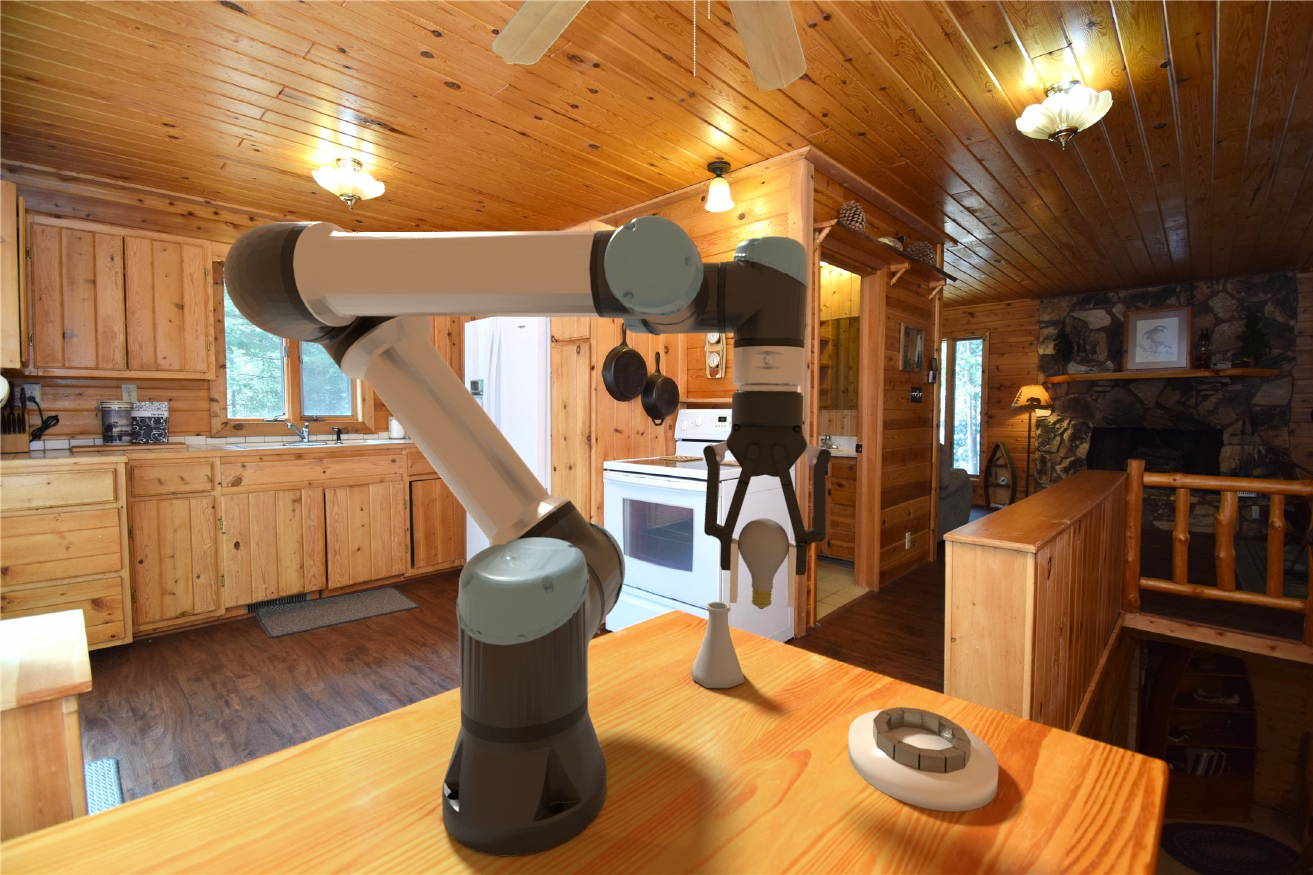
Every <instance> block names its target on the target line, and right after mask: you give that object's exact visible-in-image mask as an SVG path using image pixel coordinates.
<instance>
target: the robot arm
mask: <svg viewBox="0 0 1313 875" xmlns="http://www.w3.org/2000/svg"><path fill="white" fill-rule="evenodd" d="M702 261H703V260H702V256H701V252H700V251H699V249H698V246H697V244H696V243H695V242H694V240H693V239H692V238H691V236H689V234H688V233H687V232H686V231H685V230H684V229H683V228H682V227H681V226H680V225H679V224H677V222H674V221H673V220H671V219H669V218H666V217H664V216H659V215H643V216H639V217H636V218H633V219H631V220H629V221H628V222H626V223H624V224H622V225H621V226H620V227H619V228H618V229H607V230H606V229H605V230H602V229H601V230H543V231H542V230H541V231H540V230H539V231H538V230H533V231H526V230H525V231H523V230H522V231H518V230H517V231H515V230H514V231H442V232H441V231H439V232H438V231H437V232H435V231H432V232H430V231H429V232H427V231H426V232H358V233H357V232H347V231H345V230H344V229H343V228H342V227H340V226H339V225H337V224H335V223H333V222H330V221H277V222H276V221H275V222H269V223H268V222H267V223H264V224H261V225H257V226H254V227H252V228H250V229H248V230H247V231H245V232H243V233H242V234H241V235H240V236H238V238H236V240H235V241H234V242H233V244H232V245H231V247H230V248H229V250H228V252H227V255H226V257H225V259H224V266H223V281H224V285H225V289H226V291H227V295H228V297H229V298H230V300H231V302H232V304H233V306H234V307H235V309H236V310H237V311H238V312H239V313H240V314H241V316H242V317H244V318H245V319H246V320H247V321H249V323H251V325H253V326H255V327H256V328H258V329H260V330H261V331H263V332H265V333H268V334H271V335H272V336H276V337H278V338H282V339H287V340H291V341H292V340H293V341H300V342H305V343H313V344H319V345H320V346H321V347H322V348H323V349H324V350H325V352H327V354H328V355H329V357H330V358H331V359H332V361H333V362H334V363H335V364H336V366H337V367H338V368H339V369H340V371H341V372H342V373H343V375H345V376H346V378H349V379H353V380H358V381H359V380H360V381H366V383H368V384H369V386H370V388H372V390H373V391H374V393H375V394H376V395H377V397H378V398H379V399H380V400H381V401H382V403H383V404H384V406H385V407H386V408H387V410H388V411H389V412H390V413H391V415H392V416H393V418H394V419H395V420H396V421H397V423H398V424H399V425H400V426H401V428H402V429H403V430H404V432H405V433H406V434H407V435H408V437H409V438H410V439H411V441H412V442H413V443H414V445H415V446H416V447H417V448H418V450H419V451H420V453H421V454H422V455H423V456H424V458H425V459H426V460H427V462H428V463H429V464H430V465H431V467H432V468H433V469H434V470H435V472H436V474H437V475H438V476H439V477H440V478H441V479H442V481H443V483H445V485H446V486H447V487H448V488H449V490H450V492H451V493H452V494H453V495H454V496H455V498H456V499H457V500H458V502H459V503H460V505H461V506H462V507H463V508H464V509H465V511H466V513H467V514H468V515H469V516H470V518H471V519H472V520H473V521H474V523H475V524H476V525H477V527H478V528H479V529H480V531H481V532H482V533H483V534H484V536H485V537H486V538H487V540H488V543H489V547H486V548H484V549H483V550H480V551H479V552H478V553H475V555H474V556H472V557H471V558H470V559H469V560H468V561H467V562H466V563H465V565H464V567H463V568H462V570H461V572H460V576H459V581H458V596H457V598H456V606H455V608H456V619H457V626H458V664H459V693H460V694H459V697H460V700H459V701H460V727H459V732H458V733H457V737H456V740H455V744H454V747H453V751H452V754H451V757H450V759H449V763H448V767H447V770H446V773H445V776H444V779H443V782H442V790H441V799H442V801H441V806H442V809H441V810H442V819H443V824H444V826H445V828H446V831H447V832H448V834H450V836H451V837H452V838H455V839H454V840H455V841H457V843H459V844H461V845H462V846H464V847H466V848H469V849H470V850H472V851H476V852H477V853H478V852H479V853H483V854H487V855H493V856H494V855H495V856H521V855H523V856H524V855H528V854H533V853H534V854H535V853H537V852H542V851H545V850H548V849H550V848H554V847H556V846H559V845H561V844H563V843H565V842H567V841H569V840H570V839H572V838H574V837H576V836H578V835H579V834H580V833H581V832H583V830H585V829H586V828H587V827H588V826H589V825H591V823H592V822H593V821H594V820H595V819H596V818H597V817H598V815H599V814H600V812H601V810H602V809H603V806H604V804H605V801H606V797H607V790H608V788H607V787H608V786H607V784H608V783H607V782H608V778H607V774H608V773H607V763H606V759H605V755H604V752H603V749H602V746H601V744H600V741H599V738H598V736H597V733H596V732H597V731H596V730H595V727H594V724H593V721H592V718H591V716H590V713H589V699H588V698H589V694H588V693H589V690H588V688H589V687H588V686H589V685H588V684H589V675H588V674H589V671H588V670H589V668H588V666H589V665H588V664H589V663H588V662H589V660H588V658H589V657H588V655H589V654H588V652H589V645H590V642H591V640H592V639H593V637H594V636H595V634H596V632H597V631H598V630H599V628H600V627H601V625H602V623H603V622H604V620H605V619H606V617H607V616H608V615H609V614H610V613H611V612H612V611H613V609H614V607H615V606H616V605H617V603H618V601H619V599H620V596H621V593H622V590H623V585H624V583H625V577H626V561H625V556H624V553H623V550H622V548H621V546H620V544H619V542H618V541H617V539H616V538H615V537H614V536H613V534H612V533H611V532H610V531H609V530H608V529H606V528H605V527H603V526H602V525H599V524H598V523H595V522H592V521H589V520H588V521H587V520H586V518H585V517H584V516H583V515H582V513H581V512H580V511H579V510H578V509H577V507H576V506H575V504H574V503H573V501H572V500H571V499H569V498H568V497H561V496H555V495H554V496H553V495H551V494H550V493H549V492H548V491H547V489H546V488H545V487H544V486H543V485H542V484H541V482H540V480H539V479H538V478H537V477H536V476H535V474H534V473H533V472H532V470H531V469H530V468H529V466H528V465H527V464H526V462H524V460H523V459H522V458H521V456H520V455H519V454H518V452H517V451H516V450H515V449H514V447H513V446H512V445H511V443H510V442H509V441H508V440H507V438H506V437H505V436H504V435H503V433H502V431H501V430H500V429H499V428H498V427H497V426H496V424H495V423H494V422H493V420H492V419H491V418H490V416H489V415H488V414H487V412H486V411H485V410H484V408H483V406H481V404H480V403H479V402H478V401H477V399H475V397H474V395H473V394H472V393H471V392H470V390H469V389H468V388H467V386H466V385H465V383H463V382H462V380H461V379H460V378H459V376H458V375H457V373H456V372H455V371H454V370H453V368H452V367H451V366H450V365H449V363H448V362H447V361H446V359H445V358H444V357H443V355H442V354H441V353H440V352H439V350H438V349H437V348H436V346H435V345H434V344H433V342H432V341H431V336H432V332H433V323H432V321H431V319H430V318H429V317H461V318H462V317H465V318H466V317H467V318H468V317H470V318H471V317H475V318H476V317H477V318H478V317H483V318H484V317H485V318H486V317H488V318H490V317H492V318H495V317H499V318H501V317H502V318H503V317H505V318H517V317H518V318H542V317H543V318H600V319H601V318H605V319H606V318H607V319H622V320H623V325H624V326H625V329H626V330H627V331H629V332H631V333H632V334H644V335H647V334H648V335H652V336H653V335H654V336H656V337H657V336H661V335H669V334H671V335H674V334H676V335H677V334H679V335H680V334H687V335H688V334H716V333H717V334H719V335H720V334H723V335H724V334H732V335H733V349H732V352H733V353H732V384H733V386H735V387H737V389H736V391H733V392H734V393H733V394H732V395H731V428H730V432H729V435H728V437H727V438H726V440H725V441H721V442H718V443H714V444H712V443H709V444H707V445H705V447H704V448H702V449H703V451H702V454H703V457H704V459H705V460H704V461H705V464H706V467H707V474H706V475H707V476H706V489H705V490H706V494H705V507H704V508H705V510H704V528H703V529H704V530H703V531H704V534H705V535H707V536H708V537H712V538H716V539H717V540H718V542H720V554H719V555H720V559H719V560H720V561H719V565H720V569H721V570H722V571H729V572H730V576H729V577H730V578H729V604H737V603H738V596H739V593H738V592H739V560H740V559H739V558H740V557H739V555H740V552H739V547H738V540H739V537H737V538H735V537H733V535H734V532H735V528H736V526H737V522H738V519H739V516H740V514H741V511H742V507H743V503H744V500H745V498H746V495H747V491H748V488H749V485H750V483H751V482H750V481H751V478H752V477H760V476H765V475H766V476H768V477H771V478H772V477H773V478H774V477H775V478H779V482H780V486H781V489H782V492H783V493H782V494H783V497H784V500H785V504H786V508H787V513H788V517H789V521H790V523H791V528H792V531H793V535H794V541H790V540H789V550H788V554H787V566H786V567H787V570H786V596H785V597H786V607H787V608H790V609H791V608H796V607H795V606H796V605H795V604H796V598H795V597H796V577H797V576H805V575H806V573H807V567H808V565H807V564H808V562H807V561H808V547H809V546H810V545H811V544H814V543H817V542H818V543H821V542H824V541H825V540H826V470H827V468H828V465H829V463H830V460H831V458H832V453H831V451H830V450H829V449H828V448H827V447H824V446H823V447H819V446H816V445H813V444H811V443H807V440H806V437H805V435H804V432H803V422H804V421H803V419H804V418H803V417H804V395H803V394H802V392H799V390H798V389H799V387H802V386H803V385H805V384H804V382H805V381H804V380H805V353H806V352H805V350H806V349H805V345H806V343H805V340H806V322H807V302H808V301H807V299H808V287H809V286H808V280H807V279H808V278H807V276H808V273H807V270H808V269H807V251H806V248H805V246H804V245H803V244H802V242H800V241H799V240H797V239H794V238H791V237H787V236H786V237H785V236H768V235H767V236H761V237H753V238H748V239H745V240H743V241H742V242H740V243H739V244H738V245H737V246H736V248H735V253H734V256H733V260H727V261H717V262H708V261H707V262H704V261H703V262H702ZM727 451H729V452H730V454H731V455H732V456H733V458H734V459H735V460H736V462H737V464H738V465H739V467H740V469H741V470H740V473H739V476H738V479H737V483H736V487H735V490H734V492H733V496H732V499H731V502H730V505H729V509H728V512H727V513H726V514H727V515H726V518H725V521H724V524H723V525H722V524H720V523H718V514H719V498H720V497H719V496H720V478H721V463H722V462H724V461H725V458H726V453H727ZM804 453H805V454H806V455H807V463H808V464H809V465H810V466H811V528H809V529H808V528H807V529H805V526H804V522H803V517H802V514H801V510H800V506H799V503H798V498H797V495H796V490H795V487H794V483H793V480H792V476H791V472H790V470H791V469H792V467H793V466H794V465H795V464H796V462H797V461H798V460H799V459H800V458H801V457H802V456H803V454H804Z"/></svg>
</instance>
